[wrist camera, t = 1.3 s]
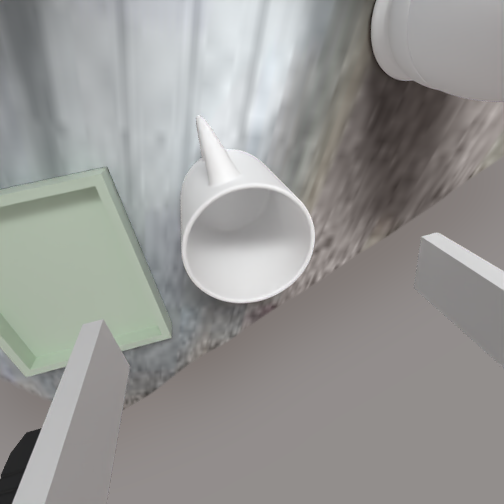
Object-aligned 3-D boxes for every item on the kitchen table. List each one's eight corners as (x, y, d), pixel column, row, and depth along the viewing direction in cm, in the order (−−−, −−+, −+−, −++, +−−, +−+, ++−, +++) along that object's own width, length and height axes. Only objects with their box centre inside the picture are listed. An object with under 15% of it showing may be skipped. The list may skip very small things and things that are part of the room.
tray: (-89, 208, 24) (-112, 219, 22) (106, 166, 25) (101, 173, 23) (34, 360, 33) (26, 377, 31) (172, 323, 34) (171, 337, 33)
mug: (246, 89, 24) (286, 96, 15) (281, 217, 31) (325, 277, 22) (145, 126, 24) (124, 156, 15) (201, 248, 31) (211, 320, 21)
